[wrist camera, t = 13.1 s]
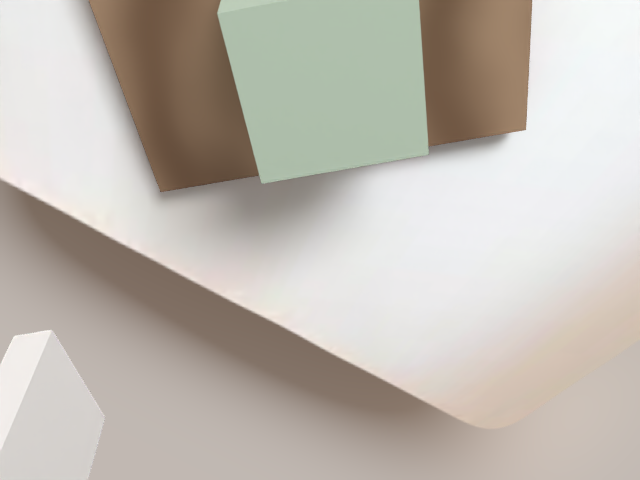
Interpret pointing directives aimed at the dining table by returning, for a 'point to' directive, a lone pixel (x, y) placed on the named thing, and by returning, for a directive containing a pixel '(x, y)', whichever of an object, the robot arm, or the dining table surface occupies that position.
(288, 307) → the dining table surface
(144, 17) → the walnut board
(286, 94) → the green cube
